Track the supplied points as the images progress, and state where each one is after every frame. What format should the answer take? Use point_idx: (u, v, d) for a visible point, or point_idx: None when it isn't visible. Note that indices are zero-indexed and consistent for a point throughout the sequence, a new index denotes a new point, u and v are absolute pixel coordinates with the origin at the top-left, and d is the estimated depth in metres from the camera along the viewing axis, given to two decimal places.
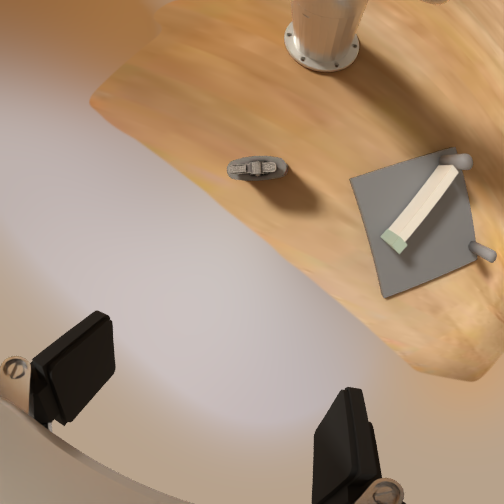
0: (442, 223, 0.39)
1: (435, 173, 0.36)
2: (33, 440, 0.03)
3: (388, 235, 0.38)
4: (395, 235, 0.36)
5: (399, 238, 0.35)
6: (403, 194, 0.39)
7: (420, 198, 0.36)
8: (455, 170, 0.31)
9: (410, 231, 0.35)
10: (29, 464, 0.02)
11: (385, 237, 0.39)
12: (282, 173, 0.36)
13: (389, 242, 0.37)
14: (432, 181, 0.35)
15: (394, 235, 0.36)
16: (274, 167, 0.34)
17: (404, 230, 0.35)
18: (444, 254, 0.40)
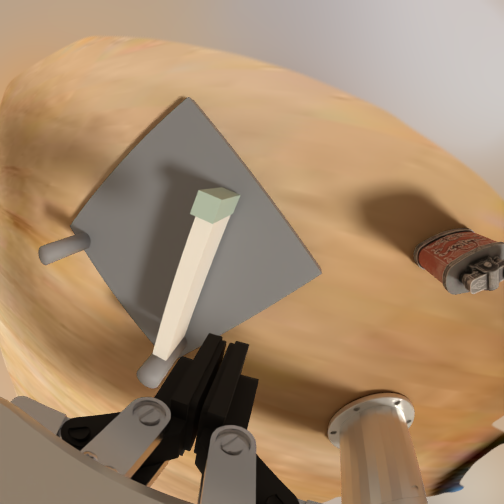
0: (141, 254, 0.28)
1: (185, 327, 0.27)
2: (33, 440, 0.03)
3: (229, 207, 0.22)
4: (219, 218, 0.20)
5: (211, 220, 0.19)
6: (224, 276, 0.27)
7: (196, 288, 0.24)
8: (158, 354, 0.24)
9: (193, 237, 0.21)
10: (29, 464, 0.02)
11: (233, 201, 0.22)
12: (450, 271, 0.17)
13: (226, 200, 0.20)
14: (186, 319, 0.26)
15: (220, 217, 0.21)
16: (471, 287, 0.15)
17: (206, 234, 0.20)
18: (118, 209, 0.27)
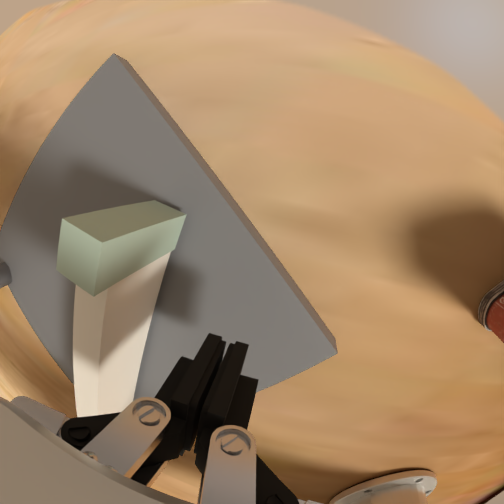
0: (61, 301, 0.16)
1: None
2: (33, 440, 0.03)
3: (155, 245, 0.10)
4: (121, 275, 0.09)
5: (90, 287, 0.07)
6: (172, 348, 0.15)
7: (121, 375, 0.13)
8: None
9: (81, 309, 0.09)
10: (29, 464, 0.02)
11: (163, 230, 0.11)
12: None
13: (131, 237, 0.08)
14: (119, 407, 0.14)
15: (125, 272, 0.09)
16: None
17: (98, 308, 0.09)
18: (30, 234, 0.15)
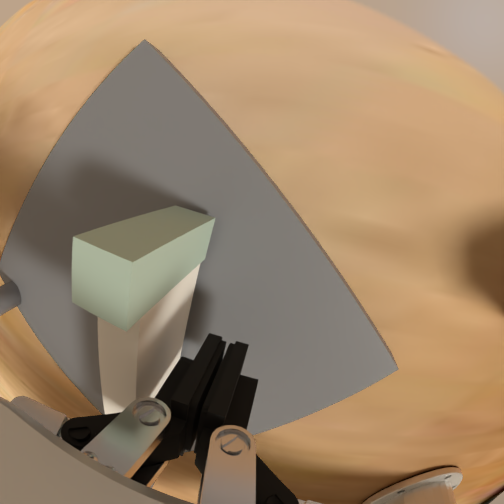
0: (85, 327, 0.15)
1: None
2: (33, 440, 0.03)
3: (187, 256, 0.09)
4: (155, 299, 0.07)
5: (121, 320, 0.06)
6: None
7: None
8: None
9: (108, 344, 0.07)
10: (29, 464, 0.02)
11: (195, 239, 0.09)
12: None
13: (164, 251, 0.07)
14: None
15: (159, 294, 0.07)
16: None
17: (131, 341, 0.07)
18: (42, 252, 0.14)
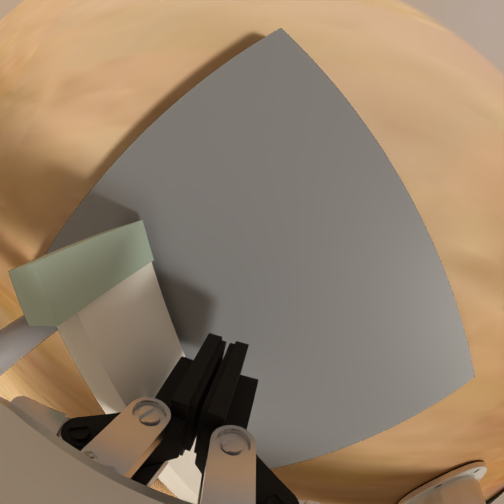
0: None
1: None
2: (33, 440, 0.03)
3: (117, 257, 0.09)
4: (86, 297, 0.07)
5: (52, 318, 0.06)
6: (335, 399, 0.13)
7: None
8: None
9: (79, 359, 0.07)
10: (29, 464, 0.02)
11: (119, 240, 0.09)
12: None
13: (74, 252, 0.07)
14: None
15: (90, 293, 0.07)
16: None
17: (87, 346, 0.07)
18: None
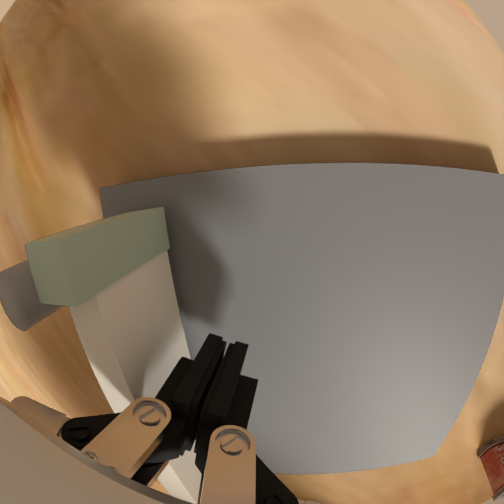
0: (251, 362, 0.13)
1: None
2: (33, 440, 0.03)
3: (138, 242, 0.09)
4: (105, 279, 0.07)
5: (70, 298, 0.06)
6: (355, 438, 0.14)
7: None
8: None
9: (88, 342, 0.08)
10: (29, 464, 0.02)
11: (141, 225, 0.09)
12: None
13: (98, 232, 0.07)
14: None
15: (110, 275, 0.08)
16: None
17: (100, 329, 0.07)
18: (260, 256, 0.12)
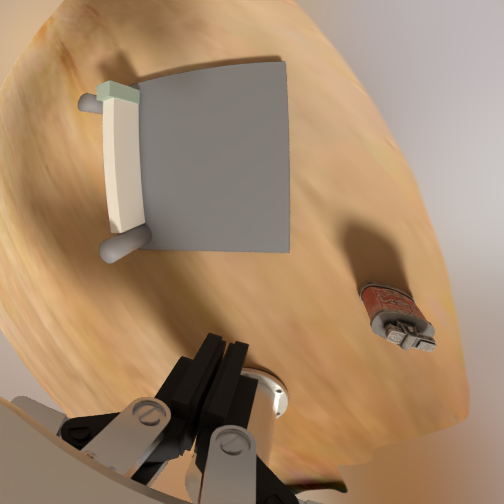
0: (162, 150, 0.29)
1: (138, 208, 0.30)
2: (33, 440, 0.03)
3: (128, 94, 0.25)
4: (117, 95, 0.23)
5: (108, 94, 0.22)
6: (217, 207, 0.30)
7: (127, 161, 0.27)
8: (115, 230, 0.27)
9: (105, 115, 0.23)
10: (29, 464, 0.02)
11: (130, 90, 0.25)
12: (382, 314, 0.24)
13: (118, 84, 0.23)
14: (131, 193, 0.28)
15: (118, 96, 0.23)
16: (390, 335, 0.23)
17: (111, 108, 0.23)
18: (167, 103, 0.27)
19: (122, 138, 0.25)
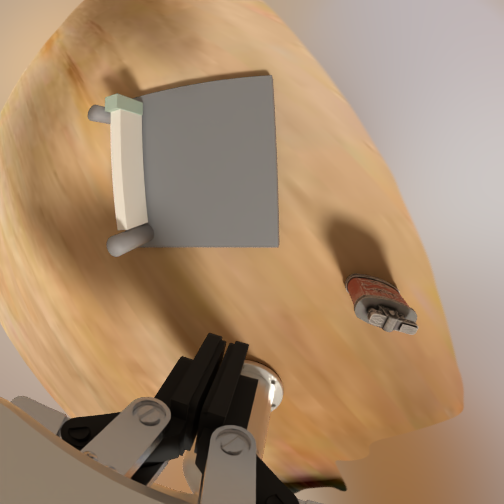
0: (163, 156, 0.33)
1: (142, 208, 0.33)
2: (33, 440, 0.03)
3: (133, 106, 0.29)
4: (123, 107, 0.27)
5: (115, 105, 0.25)
6: (212, 207, 0.33)
7: (132, 166, 0.30)
8: (121, 227, 0.30)
9: (113, 125, 0.27)
10: (29, 464, 0.02)
11: (135, 103, 0.29)
12: (364, 299, 0.27)
13: (124, 97, 0.26)
14: (135, 195, 0.32)
15: (124, 107, 0.27)
16: (371, 317, 0.25)
17: (118, 119, 0.27)
18: (168, 115, 0.31)
19: (128, 145, 0.29)
